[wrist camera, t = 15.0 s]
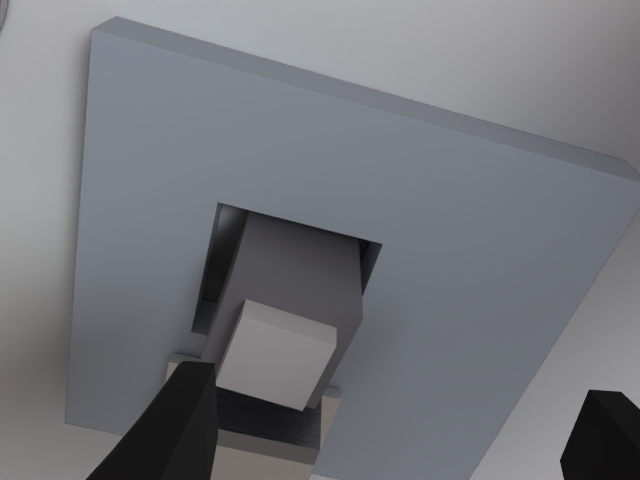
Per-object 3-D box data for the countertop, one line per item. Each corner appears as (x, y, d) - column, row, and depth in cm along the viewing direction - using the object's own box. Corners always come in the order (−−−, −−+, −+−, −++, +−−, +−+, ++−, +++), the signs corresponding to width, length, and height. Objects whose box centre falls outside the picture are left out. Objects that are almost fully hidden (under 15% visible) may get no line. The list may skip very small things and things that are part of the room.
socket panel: (625, 160, 19) (653, 186, 18) (446, 464, 27) (454, 502, 26) (116, 16, 17) (91, 29, 16) (83, 387, 25) (64, 423, 24)
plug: (358, 233, 21) (364, 337, 16) (319, 313, 23) (314, 428, 18) (253, 197, 20) (226, 293, 15) (222, 283, 22) (190, 393, 17)
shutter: (341, 390, 22) (341, 455, 19) (299, 493, 25) (294, 561, 23) (172, 352, 21) (149, 414, 19) (151, 464, 25) (129, 530, 22)
